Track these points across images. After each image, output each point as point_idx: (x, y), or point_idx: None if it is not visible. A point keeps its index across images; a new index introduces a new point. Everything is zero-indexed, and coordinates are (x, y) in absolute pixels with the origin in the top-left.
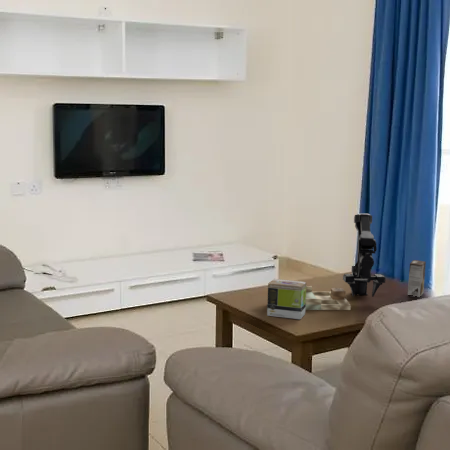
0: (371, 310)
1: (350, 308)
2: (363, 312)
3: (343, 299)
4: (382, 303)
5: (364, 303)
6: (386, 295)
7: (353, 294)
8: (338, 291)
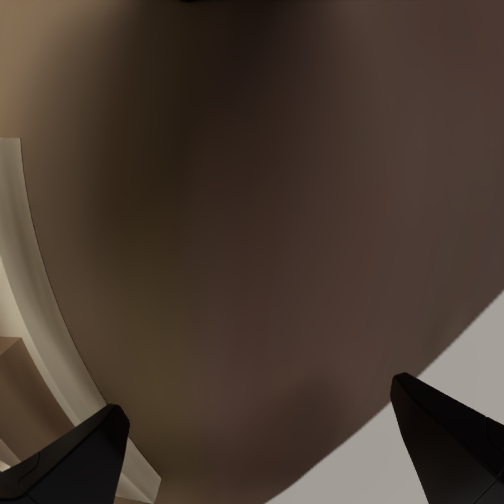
0: (300, 478)
1: (158, 485)
2: (241, 500)
3: (68, 429)
4: (459, 304)
5: (275, 353)
6: (497, 24)
7: (117, 450)
8: (9, 463)
